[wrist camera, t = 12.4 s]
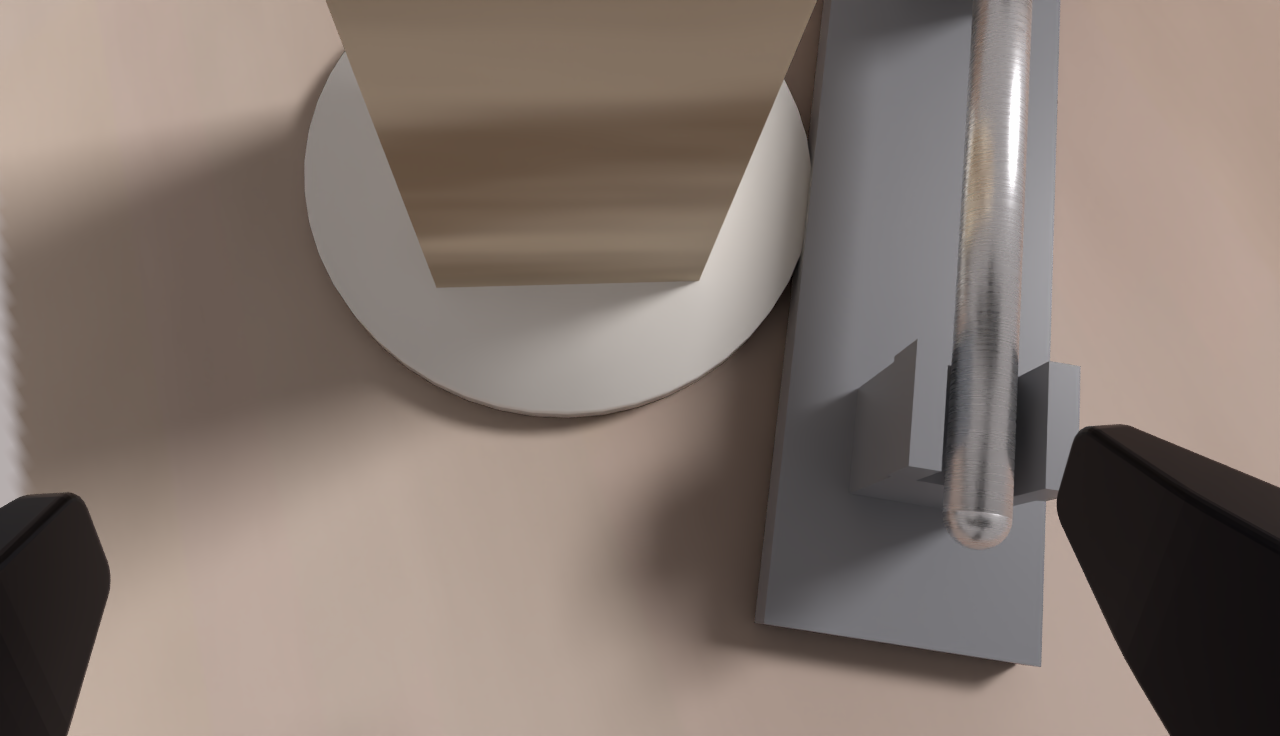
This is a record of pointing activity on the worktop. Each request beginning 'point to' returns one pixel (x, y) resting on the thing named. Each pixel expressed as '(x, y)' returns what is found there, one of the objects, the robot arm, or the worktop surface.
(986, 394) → the steel bar
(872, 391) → the bar stand
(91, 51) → the worktop surface
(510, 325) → the coaster
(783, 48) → the beech block
